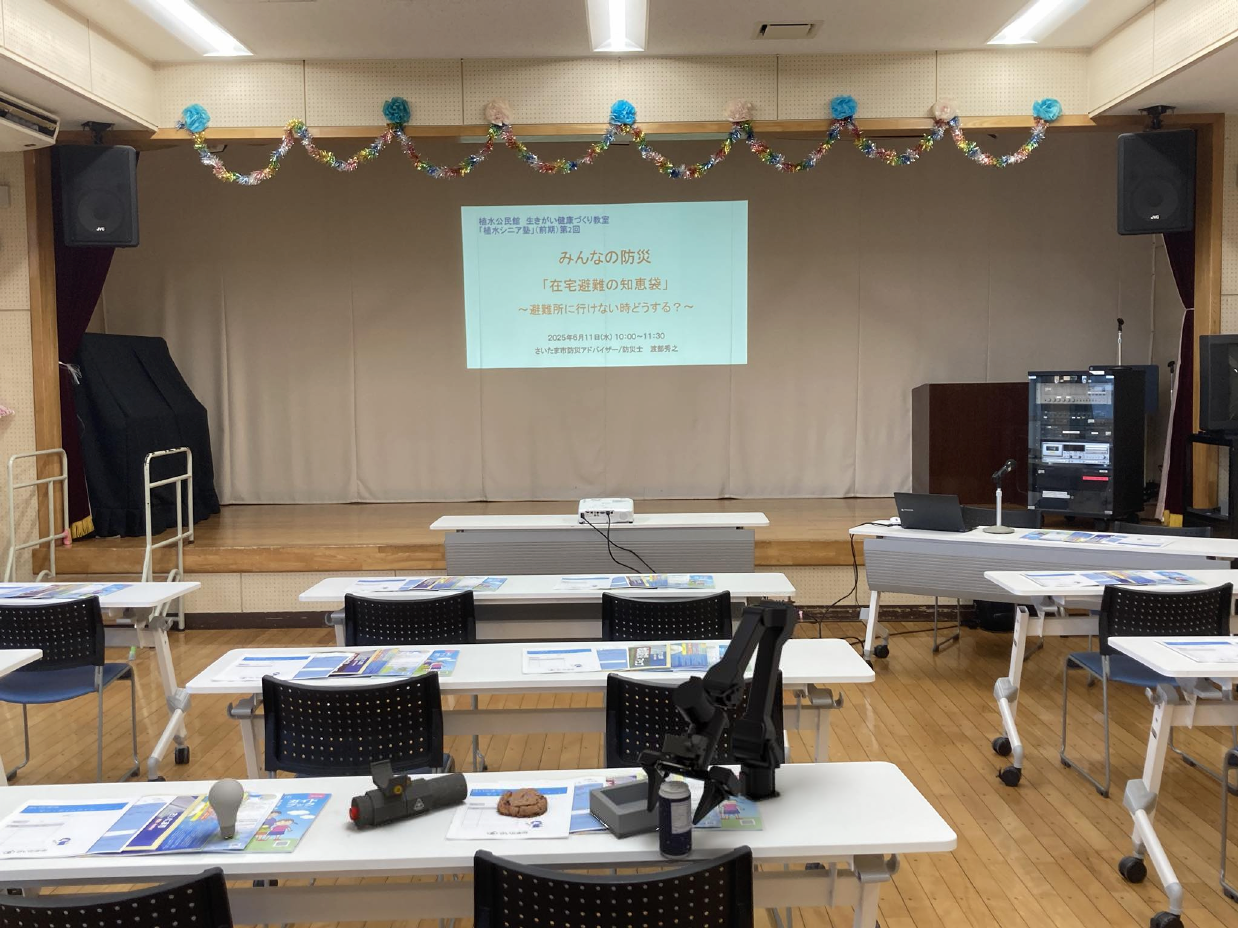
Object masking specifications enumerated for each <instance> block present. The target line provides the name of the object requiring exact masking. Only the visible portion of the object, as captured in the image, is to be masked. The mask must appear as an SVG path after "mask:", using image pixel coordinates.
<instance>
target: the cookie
mask: <svg viewBox="0 0 1238 928" xmlns="http://www.w3.org/2000/svg"><path fill="white" fill-rule="evenodd" d="M548 803H549V802H548V799H547V796H544V794H542V793H540V792H538V790H537V789H535V788H534V787H527V788H525V787H523V788H519V789H517V790H514V791H511V790H507V791H505V792H503V793H502V794H501V796H500V797H499V800H498V803H497V804H496V810H497V811H498V813H499V814H500V815H502V816H508V817H511V818H517V819H524V818H526V819H527V818H531V819H533V818H536V817H540V816H542V815H543V814H544V813H546V812H547V810H548Z"/></svg>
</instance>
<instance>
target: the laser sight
mask: <svg viewBox="0 0 1238 928" xmlns="http://www.w3.org/2000/svg"><path fill="white" fill-rule="evenodd" d="M390 761H391V760H390V759H385V760H381V761H376V762H371V763H370V769H371V770H370V771H371V778H372V783H373V785H375V786H376V788H374V789H370V790H367V791H365V793H364V795H362V794H361V795H358V796H354V797H352V798H351V801H350V808H349V809H348V814H349V819H350V820H351V821H352V822H353V825H354V826H355V828H356V827H357V828H356V829H358V830H360V829H363V828H367V827H369V826H371V828H375V826H376V827H379V826H383V825H387V824H390V822H391V823H394V822H398V821H401V820H405V818H406V819H409V818H413V817H416V816H420V815H423V814H427V813H428V814H429V813H430V812H431V810H433V809H436V808H441V807H444V806H448V805H452V804H455V803H458V802H463V801H466V800H467V798H468V793H469V792H468V790H469V789H468V783H467V780H466V778H465V775H464V774H463V772H461V771H457V772H453V773H449V774H445V775H441V776H437V777H432V778H429V779H426V778H424V777H419V778H415V779H412V777H411V776H408V773H403V774H399V775H395V774H394V773H393V770H392V766H391V762H390ZM397 820H398V821H397ZM393 821H394V822H393ZM386 823H387V824H386ZM382 824H383V825H382Z"/></svg>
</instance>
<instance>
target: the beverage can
mask: <svg viewBox="0 0 1238 928" xmlns="http://www.w3.org/2000/svg"><path fill="white" fill-rule="evenodd" d="M666 781H667V780H666ZM689 786H690V785H689V784H688V783H686V782H685V781H682V780H668V781H667V782H664V783H662V784H661V786H660V787H661V788H660V790H659V792H658V803H659V830H658V839H659V840H658V842H659V844H658V845H659V846H658V847H659V851H660V852H661V853H662V854H663V855H664V856H665V857H666V858H669V859H673V860H675V859H683V858H685V857H687V856H688V854H689V853H691V852H692V851H693V837H692V836H693V835H692V834H693V833H692V832H693V831H692V829H693V827H692V824H693V823H692V792H691V790H690V788H689Z"/></svg>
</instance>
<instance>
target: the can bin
mask: <svg viewBox="0 0 1238 928" xmlns="http://www.w3.org/2000/svg"><path fill="white" fill-rule="evenodd" d="M647 801H648V777H647V778H646V777H645V778H642V779H636V780H632V781H626V782H621V783H617V784H611V785H607V786H602V787H596V788H592V789H589V813H590V812H591V813H592V814H593V815H595V816H596V817H597V818H598V819H599V820H601V821H602V822H603V823H604V824H606V825H607V826H608V827H609V829H610V831H611V832H610V831H609V832H610V833H611V834H612V835H613V836H615V838H616V839H617V840H622V839H626V838H631V837H634V836H639V835H643V834H648V833H652V831H653V830H656V829H657V828H659V803H657V805H656V806H655V808H654V810H653V811H652V813H649V812H648V811H647ZM591 813H590V814H591ZM592 814H591V815H592ZM593 815H592V816H593ZM653 832H654V831H653Z"/></svg>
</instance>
